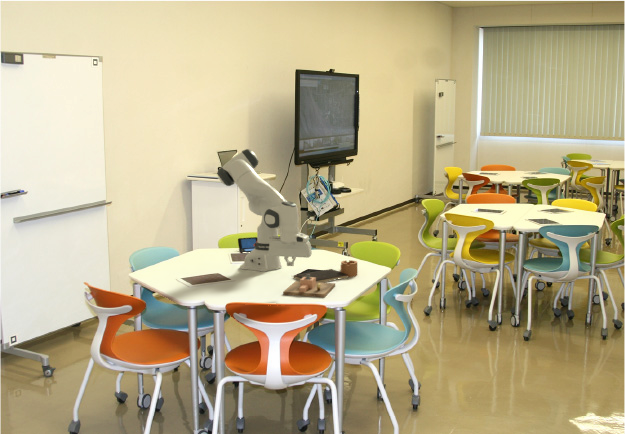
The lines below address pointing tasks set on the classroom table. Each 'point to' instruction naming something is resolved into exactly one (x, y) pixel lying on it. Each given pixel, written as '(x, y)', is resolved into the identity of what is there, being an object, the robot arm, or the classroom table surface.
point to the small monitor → (247, 244)
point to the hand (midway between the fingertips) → (290, 265)
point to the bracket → (349, 268)
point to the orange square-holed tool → (307, 284)
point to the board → (309, 290)
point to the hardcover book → (323, 275)
